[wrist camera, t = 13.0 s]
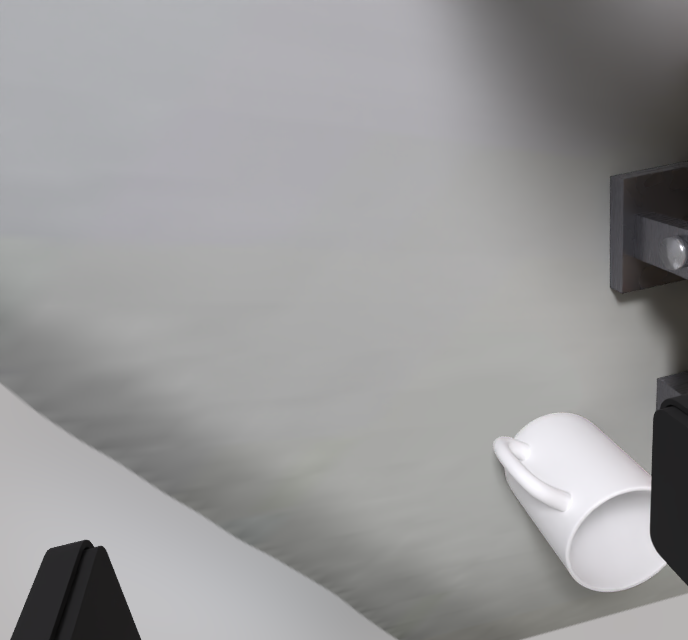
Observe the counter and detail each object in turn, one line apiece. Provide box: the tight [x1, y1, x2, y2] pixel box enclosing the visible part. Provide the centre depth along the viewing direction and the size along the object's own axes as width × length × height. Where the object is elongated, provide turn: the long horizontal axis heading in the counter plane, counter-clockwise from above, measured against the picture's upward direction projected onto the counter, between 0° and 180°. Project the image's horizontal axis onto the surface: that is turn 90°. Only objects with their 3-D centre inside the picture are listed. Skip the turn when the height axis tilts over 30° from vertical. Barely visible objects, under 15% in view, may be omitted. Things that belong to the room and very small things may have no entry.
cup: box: [493, 412, 667, 592], centre depth 43 cm, size 8×12×10 cm
